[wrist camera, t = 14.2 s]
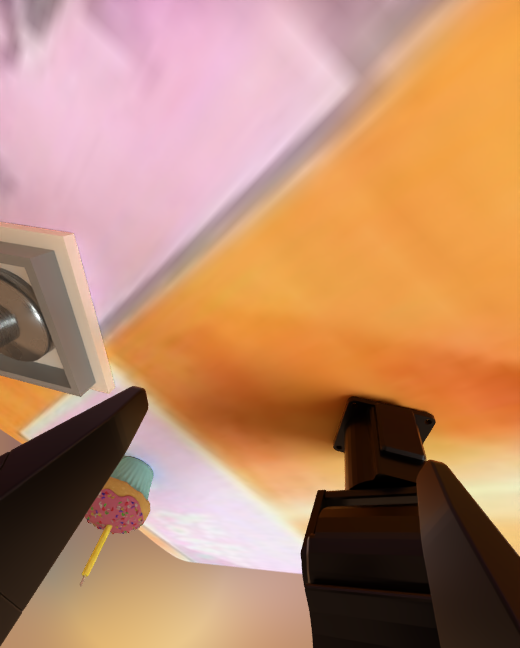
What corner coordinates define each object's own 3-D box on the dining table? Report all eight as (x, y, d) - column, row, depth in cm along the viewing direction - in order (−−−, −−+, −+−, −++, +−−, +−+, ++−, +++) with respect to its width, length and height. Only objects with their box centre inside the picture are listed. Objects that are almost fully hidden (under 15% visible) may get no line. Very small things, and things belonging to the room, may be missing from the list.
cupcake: (151, 449, 34) (74, 570, 24) (176, 491, 38) (118, 609, 28) (97, 445, 37) (8, 552, 27) (125, 484, 41) (56, 590, 31)
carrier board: (115, 387, 30) (94, 408, 27) (-8, 355, 32) (-37, 372, 30) (73, 233, 21) (38, 243, 19) (-89, 208, 24) (-139, 214, 21)
